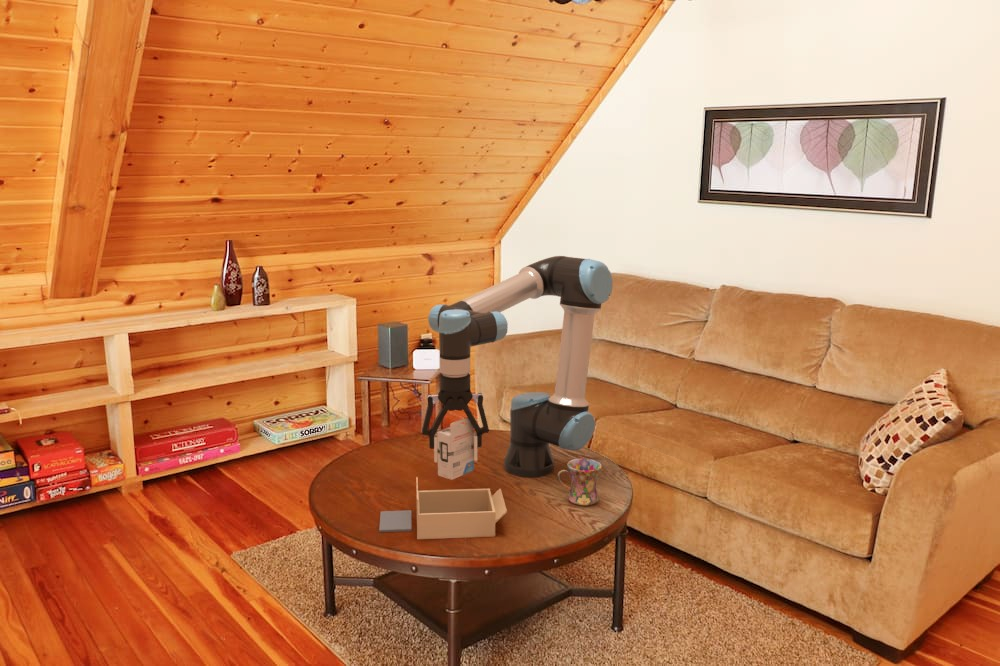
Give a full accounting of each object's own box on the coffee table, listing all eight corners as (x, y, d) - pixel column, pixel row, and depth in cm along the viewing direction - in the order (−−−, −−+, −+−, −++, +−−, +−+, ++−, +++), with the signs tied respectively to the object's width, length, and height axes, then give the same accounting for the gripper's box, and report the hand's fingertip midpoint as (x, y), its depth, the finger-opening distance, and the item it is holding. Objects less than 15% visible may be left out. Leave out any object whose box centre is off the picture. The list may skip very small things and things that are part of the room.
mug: (594, 493, 229) (596, 457, 227) (604, 507, 220) (606, 470, 218) (553, 495, 227) (554, 459, 225) (561, 509, 218) (562, 472, 216)
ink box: (459, 465, 210) (459, 411, 207) (474, 470, 207) (474, 415, 204) (436, 475, 204) (435, 419, 201) (451, 480, 201) (450, 423, 198)
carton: (499, 506, 219) (499, 470, 217) (506, 535, 203) (507, 496, 201) (416, 509, 217) (416, 472, 215) (417, 539, 200) (416, 499, 198)
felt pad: (411, 512, 215) (411, 510, 215) (411, 531, 205) (411, 528, 205) (380, 513, 214) (380, 511, 214) (379, 532, 204) (379, 530, 204)
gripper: (497, 368, 205) (497, 452, 210) (409, 370, 202) (411, 455, 207) (501, 376, 197) (500, 463, 202) (410, 378, 195) (411, 467, 200)
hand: (455, 459), depth 205 cm, fingers closed on ink box, 9 cm apart
